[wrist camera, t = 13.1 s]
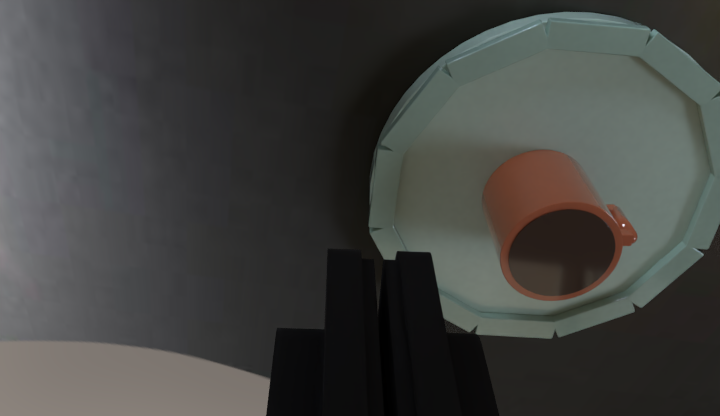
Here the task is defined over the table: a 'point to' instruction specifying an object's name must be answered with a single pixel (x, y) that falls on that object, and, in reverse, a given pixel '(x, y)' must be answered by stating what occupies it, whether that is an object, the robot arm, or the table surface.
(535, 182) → the espresso cup
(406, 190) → the plate
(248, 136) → the table surface
